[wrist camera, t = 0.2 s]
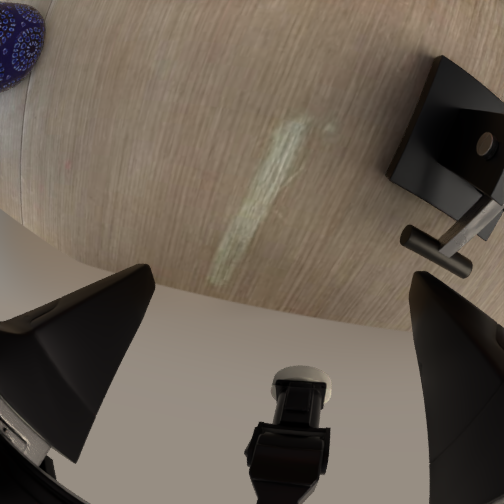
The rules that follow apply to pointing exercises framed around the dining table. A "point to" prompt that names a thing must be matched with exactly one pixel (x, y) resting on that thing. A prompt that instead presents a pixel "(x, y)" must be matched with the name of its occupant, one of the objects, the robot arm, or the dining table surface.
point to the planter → (19, 42)
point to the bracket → (453, 144)
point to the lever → (452, 237)
